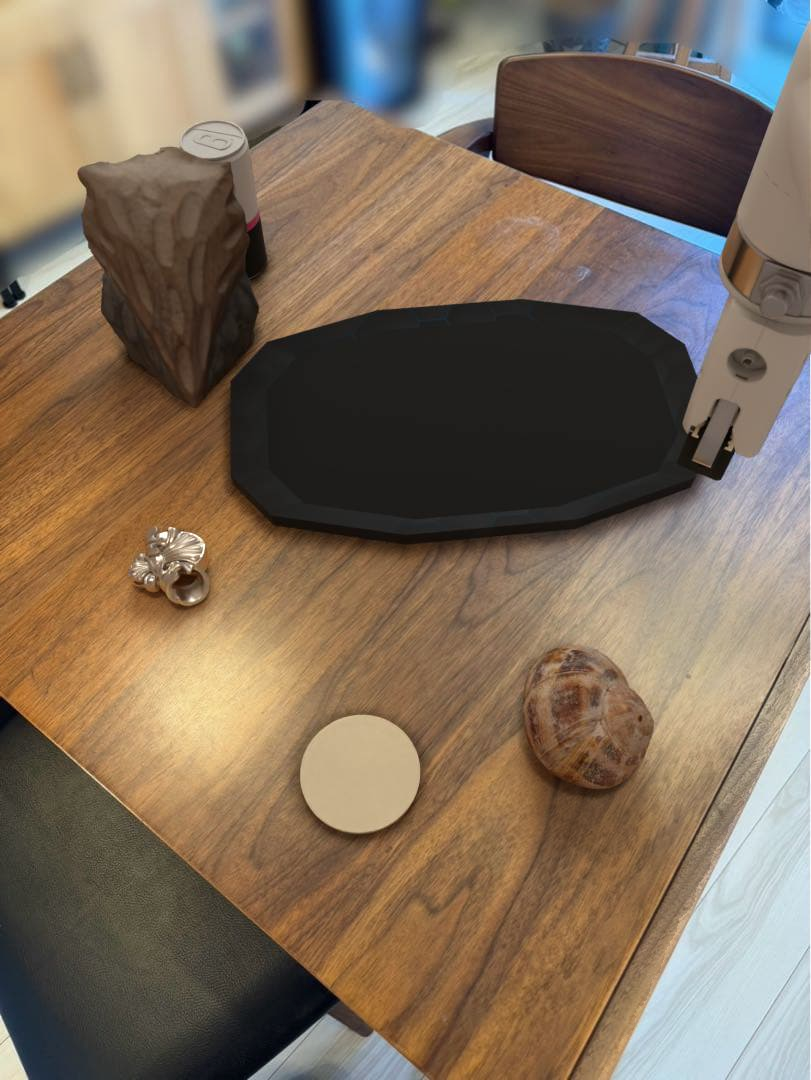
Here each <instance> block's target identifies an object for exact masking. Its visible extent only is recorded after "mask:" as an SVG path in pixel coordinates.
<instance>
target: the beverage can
mask: <svg viewBox="0 0 811 1080" xmlns="http://www.w3.org/2000/svg"><path fill="white" fill-rule="evenodd" d="M244 131H245V130H244V129H243V128H242V127H241V126H240V125H239V124H237V123H236V122H233V121H230V120H226V119H206V120H202V121H198V122H196V123H193V124H191V125H190V126H188V127H187V128H185V130H183V132H182V133H181V134H180V137H179V147H178V148H180V149H182V150H184V151H186V152H188V153H190V154H193V155H195V156H198V157H201V158H204V159H206V160H209V161H211V162H220V161H228V162H231V170H232V173H233V182H234V188H233V192H234V194H235V197H236V199H237V201H238V202H239V203H240V205H241V206H242V208H243V210H244V213H245V217H246V218H245V220H246V223H247V234H248V236H249V238H250V243H249V246H248V248H247V251H246V256H245V271H246V274H247V276H248V278H249V280H251V279H253V278H255V277H257V275H259V274H260V273H261V272H262V271H263V270H264V269H265V267H266V266H267V262H268V255H267V254H268V253H267V249H266V244H265V243H266V241H265V237H264V236H265V235H264V231H263V225H262V219H261V213H260V207H259V200H258V194H257V189H256V188H257V187H256V181H255V176H254V170H253V165H252V158H251V152H250V147H249V140H248V138H247V136H246V134H245V132H244Z"/></svg>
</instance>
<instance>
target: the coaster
mask: <svg viewBox="0 0 811 1080" xmlns="http://www.w3.org/2000/svg"><path fill="white" fill-rule="evenodd" d="M299 782H300V788H301V792H302V795H303V798H304V800H305V803H306V805H307V806H308V808H309V810H310V811H311V812H312V813H313V815H314V816H315V817H316V818H317V819H318V820H320V821H321V822H322V823H323V824H324V825H326V826H328V827H330V829H333V830H335V831H338V832H341V833H346V834H350V835H368V834H372V833H376V832H379V831H382V830H385V829H387V828H388V827H391V826H392V825H393V824H395V823H396V822H398V821H399V820H400V819H401V818H402V817H403V816H404V815H405V814H406V813H407V811H409V809H410V807H411V806H412V805H413V803H414V801H415V798H417V795H418V792H419V789H420V782H421V763H420V758H419V755H418V752H417V749H416V747H415V745H414V744H413V742H412V740H411V739H410V737H409V736H408V735H407V734H406V733H405V732H404V731H403V730H402V729H401V728H400V727H399V726H397V724H394V723H393V722H391V721H390V720H387V719H385V718H383V717H380V716H376V715H371V714H353V715H349V716H345V717H342V718H339V719H337V720H334V721H332V722H330V723H329V724H327V725H325V726H324V727H323V728H322V729H320V730H319V731H318V732H317V733H316V735H315V736H314V737H313V738H312V739H311V741H310V742H309V744H308V745H307V747H306V749H305V751H304V754H303V756H302V759H301V763H300V770H299Z"/></svg>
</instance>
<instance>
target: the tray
mask: <svg viewBox="0 0 811 1080" xmlns="http://www.w3.org/2000/svg"><path fill="white" fill-rule="evenodd" d="M689 354H690V353H689V351H688V348H687V346H686V344H685V343H684V342H682V340H681V339H679V338H677V337H676V336H674V335H672V334H671V333H669V332H668V331H666V330H665V329H663V328H662V327H660V326H659V325H657V324H656V323H654V322H652V321H651V320H649V319H648V318H646V317H645V316H643V315H642V314H640V313H639V312H638V311H637V312H636V311H631V310H630V311H628V310H622V309H621V310H620V309H612V308H602V307H594V306H587V305H586V306H585V305H578V304H568V303H562V302H561V303H560V302H553V301H543V300H537V299H536V300H535V299H526V298H515V299H514V298H513V299H503V300H501V299H500V300H488V301H478V302H477V301H476V302H463V303H452V304H438V305H437V304H436V305H426V306H425V305H424V306H413V307H400V308H399V307H398V308H388V309H387V308H386V309H376V310H372V311H369V312H366V313H363V314H358V315H355V316H352V317H348V318H345V319H341V320H338V321H334V322H331V323H328V324H324V325H321V326H317V327H313V328H310V329H307V330H303V331H299V332H296V333H293V334H289V335H285V336H282V337H279V338H276V339H272V340H268V341H266V342H265V343H264V344H263V345H262V346H261V347H260V349H258V350H257V351H256V353H255V354H253V356H252V357H251V358H250V359H249V360H248V361H247V362H246V364H245V365H244V366H242V368H240V370H239V371H238V372H237V373H236V374H235V376H233V377H232V379H231V380H230V382H229V384H230V385H229V386H230V389H229V390H230V393H229V394H230V395H229V397H230V401H229V402H230V403H229V404H230V406H229V407H230V411H229V413H230V414H229V416H230V417H229V419H230V421H229V422H230V423H229V424H230V427H229V428H230V429H229V430H230V431H229V433H230V434H229V435H230V437H229V438H230V441H229V443H230V446H229V448H230V449H229V450H230V451H229V453H230V454H229V458H230V459H229V460H230V462H229V464H230V465H229V467H230V470H229V473H230V479H231V482H232V485H233V486H234V487H235V488H236V489H237V490H238V491H239V492H240V493H241V494H242V495H243V496H244V497H245V498H246V499H247V500H248V501H249V502H250V503H251V504H252V505H253V506H254V507H255V508H256V509H257V510H258V511H259V512H260V513H261V514H262V515H263V516H264V517H265V518H266V519H267V520H268V521H269V522H270V523H271V524H272V526H277V527H282V528H283V527H284V528H290V529H298V530H304V531H311V532H319V533H325V534H331V535H339V536H346V537H353V538H359V539H366V540H373V541H380V542H387V543H393V544H394V543H395V544H401V545H415V544H424V543H434V542H435V543H437V542H446V541H459V540H467V539H468V540H469V539H478V538H479V539H480V538H489V537H501V536H512V535H522V534H533V533H544V532H556V531H567V530H575V529H578V528H581V527H583V526H587V525H589V524H592V523H595V522H597V521H602V520H603V519H607V518H609V517H612V516H615V515H617V514H620V513H623V512H626V511H629V510H633V509H634V508H637V507H640V506H643V505H645V504H649V503H651V502H654V501H657V500H659V499H663V498H666V497H668V496H671V495H673V494H677V493H679V492H682V491H685V490H687V489H690V488H691V487H692V486H693V484H694V481H695V480H696V478H697V476H698V474H697V473H695V472H693V471H691V470H689V469H686V468H684V467H681V466H679V465H678V463H677V460H678V457H679V455H680V453H681V450H682V448H683V446H684V443H685V441H686V439H687V436H688V434H689V433H688V434H687V433H686V431H685V429H684V427H683V420H684V417H685V413H686V410H687V407H688V404H689V401H690V398H691V395H692V392H693V389H694V386H695V383H696V380H697V378H698V375H697V372H696V369H695V366H694V365H693V361H692V359H691V356H690V355H689Z"/></svg>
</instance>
